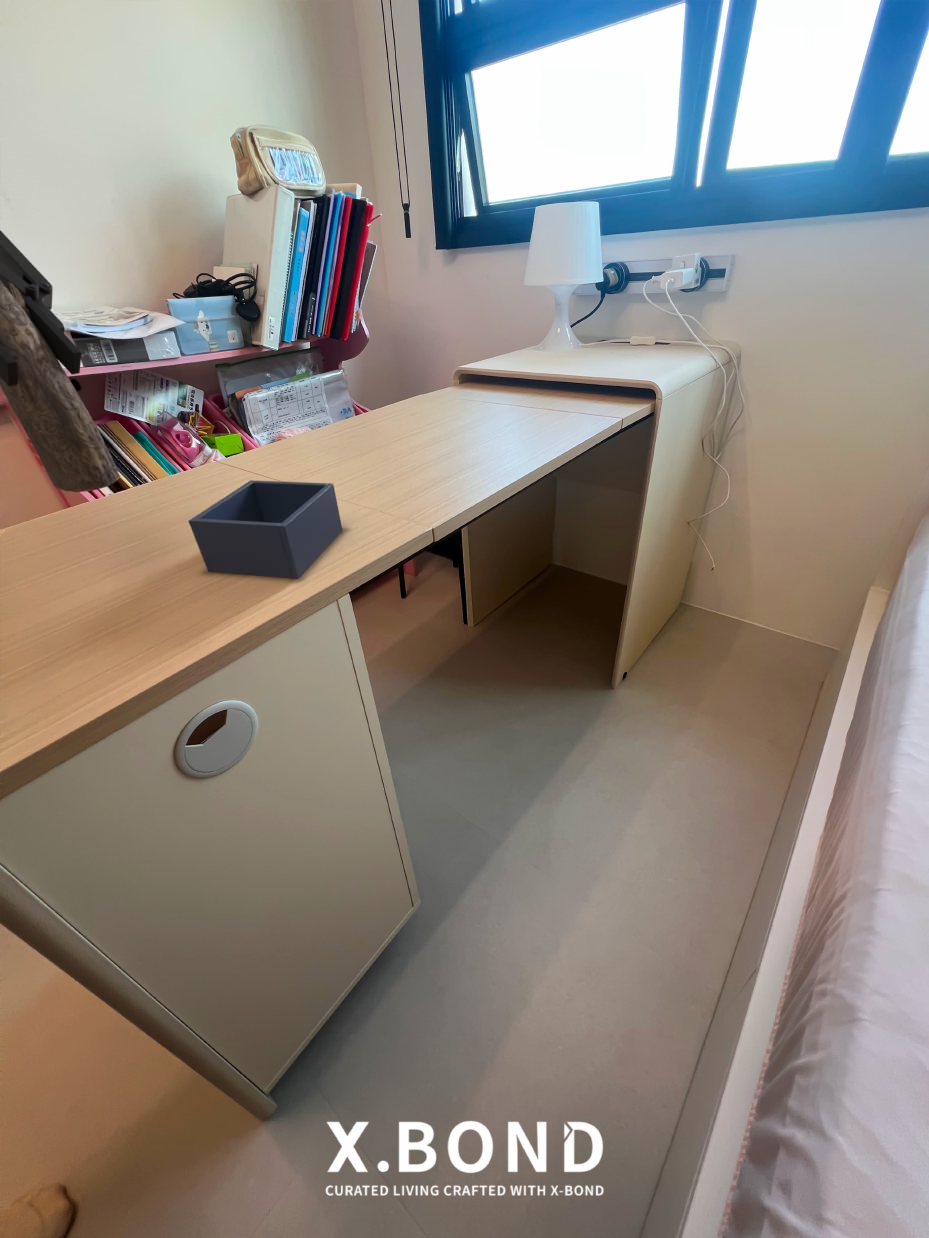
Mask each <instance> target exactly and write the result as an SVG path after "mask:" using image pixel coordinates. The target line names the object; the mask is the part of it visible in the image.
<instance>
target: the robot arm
mask: <svg viewBox="0 0 929 1238" xmlns="http://www.w3.org/2000/svg"><path fill="white" fill-rule="evenodd" d="M0 281H1V282H2V283H3V284H4V285H5V287H6V288H7V289H8V283H12V284H13V286H14V287H15V288H17V289H18V290H19V292H20V294H21V296H22V298H23V300H24V302H25V305H26V309H28V311H29V314H30V319H31V320H32V322H33V323H34V325H35V326H36V327H37V329H38V330H39V331H40V333H41V335H42V336H43V337H44V339H45V340H46V342H47V344H48V345H49V347H50V348H51V350H52V351H53V353H54V355H55V357H56V358H57V359H58V361H59V363H60V364H61V366H62V367H64V368H65V370H67V371H68V372H69V373H70V374H71V375H78V374H80V373H81V363H82V351H81V350H80V349H79V348H78V346H76V344H75V343H74V342H72V340H71V339H70V338H69V337H68V336H67V335H66V334H65V329H66V328H65V325H64V323H63V322H62V321H61V320H60V319H59V318H58V316H57V315H56V314H54V312H53V311H52V309H53V294H54V293H53V291H54V290H53V288H54V287H53V285H52V283H50V281H49V280H48V279H47V278H46V277H45V276H44V275H43V274H42V273H41V272H40V270H38V269H37V267H35V265H34V264H33V263H32V262H31V261H30V260H29V259H28V258H27V257H26V255H24V253H22V251H21V250H20V249H19V248H18V247H17V246H16V245H15V244H14V243H13V242H12V241H11V240H10V239H9V238H8V236H6V234H5V233H4V232H3V231H2V230H1V229H0ZM0 378H1V379H2V380H3V381H4V382H5V383H6V384H7V385H8V386H12V385H17V384H18V368H17V361H16V360H15V359H14V358H13V357H12V356H11V355H10V354H9V353H8V352H7V351H6V350H5V349H4V347H3V346H2V345H1V344H0Z"/></svg>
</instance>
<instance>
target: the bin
mask: <svg viewBox="0 0 929 1238" xmlns="http://www.w3.org/2000/svg"><path fill="white" fill-rule="evenodd" d="M188 524H189V527H190V530H191V531H192V535H193V537H194V540H195V542H196V545H197V548H198V550H199V552H200V554H201V557H202V560H203V563H204V565H205V567H206V570H207V572H208V573H218V574H232V575H244V576H245V575H246V576H257V577H270V578H282V579H297V580H299V578H301V576H303V575H304V573H305V572H306V571H307V570H308V569H309V568H310V567H311V566H312V565H313V564H314V563H315V561H317V559H318V558H319V557H320V556H321V555H322V554H323V553H324V551H326V549H328V547H329V546H330V545H331V544H332V543H333V542H334V541H335V540H336V539H337V538H338V536H339V535H340V534H341V533H342V532H343V531H344V530H343V525H342V520H341V515H340V511H339V505H338V500H337V495H336V490H335V485H334V483H328V482H306V481H305V482H302V481H299V482H298V481H280V480H279V481H277V480H253V479H252V480H249V481H247V482H246V483H244V484H243V485H241V486H240V487H238V488H236V489H235V490H233V491H232V492H230V493H229V494H228V495H226V496H224V497H223V498H221V499H219V500H218V501H217V502H215V503H214V504H212V505H210V506H209V507H208V508H206V509H204V510H202V511H201V512H200V513H198V514H196V515H195V516H194V517H192V518H190V519H189V520H188Z"/></svg>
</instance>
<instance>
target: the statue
mask: <svg viewBox="0 0 929 1238" xmlns="http://www.w3.org/2000/svg"><path fill="white" fill-rule="evenodd" d="M0 344H1V345H2V346H3V347H4V349H5V350H6V351H7V352H8V353H9V354H10V355H11V356H12V357H13V358H14V359H15V360H16V361H17V368H18V384H17V385H12V386H8V385H7V384H6V383H5V382H4V381H3V380H2V379H1V378H0V388H1V390H2V392H3V395H4V396H5V398H6V400H7V402H8V403H9V406H10V407H11V410H12V411H13V412H14V414H15V416H16V417H17V419H18V421H19V423H20V425H21V426H22V428H23V430H24V431H25V432H24V433H26V435H27V437H28V439H29V441H30V443H31V444H32V446H33V448H34V450H35V451H36V453H37V455H38V457H39V460H40V461H41V464H42V465H43V468H44V470H45V471H46V473H47V475H48V477H49V479H50V481H51V482H52V484H53V486H54V487H55V488H57V489H58V490H62V491H65V492H73V493H82V492H83V493H84V492H92V491H97V490H100V489H104V488H107V487H109V486H111V485H113V484H114V483H115V482H117V481H118V480H119V479H120V478H121V475H120V473H119V470H118V469H117V467H116V463H115V460H114V459H113V456H112V454H111V453H110V451H109V448H108V446H106V444H105V441H104V438H103V436H102V434H101V433H100V430H99V428H98V427H97V425H96V423H95V421H94V420H93V418H92V416H91V415H90V412H89V411H88V409H87V408H86V406H85V403H84V402H83V401H82V399H81V397H80V395H79V393H78V392H77V390H76V388H75V386H74V385H73V383H72V382H71V379H70V378H69V376H68V374H67V372H66V371H65V369H64V368H63V365H62V364H61V363H60V361H59V360H58V359H57V358H56V357H55V355H54V353H53V351H52V350H51V348H50V347H49V345H48V344H47V342H46V340H45V339H44V337H43V336H42V335H41V333H40V331H39V330H38V329H37V327H36V326H35V325H34V323H33V322H32V320H31V319H30V314H29V311H28V309H26V305H25V302H24V300H23V298H22V296H21V294H20V292H19V290H18V289H17V288H15V287H14V286H13V284H12V283H8V289H7V288H6V287H5V285H4V284H3V283H2V282H1V281H0Z"/></svg>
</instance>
